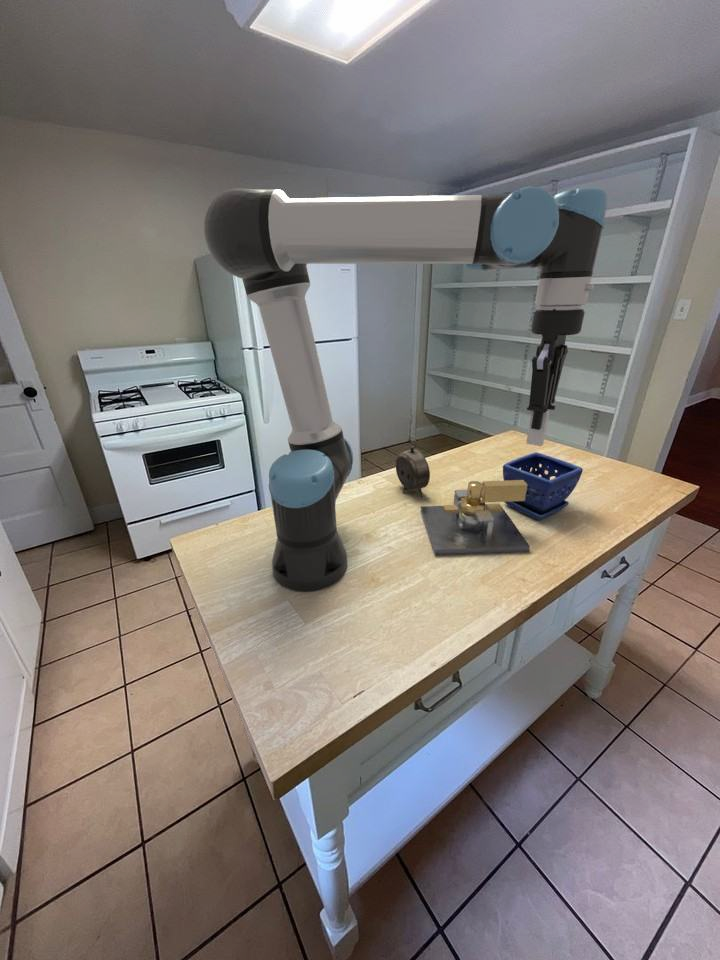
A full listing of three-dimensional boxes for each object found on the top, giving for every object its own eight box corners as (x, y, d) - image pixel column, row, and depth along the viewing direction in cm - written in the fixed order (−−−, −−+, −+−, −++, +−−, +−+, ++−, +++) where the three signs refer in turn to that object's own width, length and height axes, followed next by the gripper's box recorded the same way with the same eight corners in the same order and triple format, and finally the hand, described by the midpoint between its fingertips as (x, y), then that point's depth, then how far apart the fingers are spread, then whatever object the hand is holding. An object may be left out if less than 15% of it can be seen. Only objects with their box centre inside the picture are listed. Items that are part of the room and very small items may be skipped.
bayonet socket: (434, 555, 81) (436, 526, 77) (420, 511, 97) (421, 486, 94) (528, 552, 81) (534, 523, 78) (498, 508, 97) (502, 483, 94)
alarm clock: (429, 497, 103) (433, 441, 96) (413, 502, 101) (415, 444, 94) (407, 481, 112) (409, 429, 105) (391, 486, 110) (392, 432, 103)
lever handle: (446, 517, 84) (449, 490, 81) (441, 505, 89) (443, 479, 86) (525, 514, 84) (530, 487, 81) (515, 503, 89) (520, 477, 86)
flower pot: (541, 528, 89) (551, 482, 84) (495, 504, 99) (501, 462, 94) (574, 511, 95) (585, 467, 90) (527, 490, 105) (535, 450, 100)
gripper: (575, 310, 56) (545, 459, 66) (593, 306, 65) (564, 437, 75) (522, 310, 60) (502, 450, 70) (546, 306, 69) (525, 430, 79)
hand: (534, 443), depth 73 cm, fingers closed
